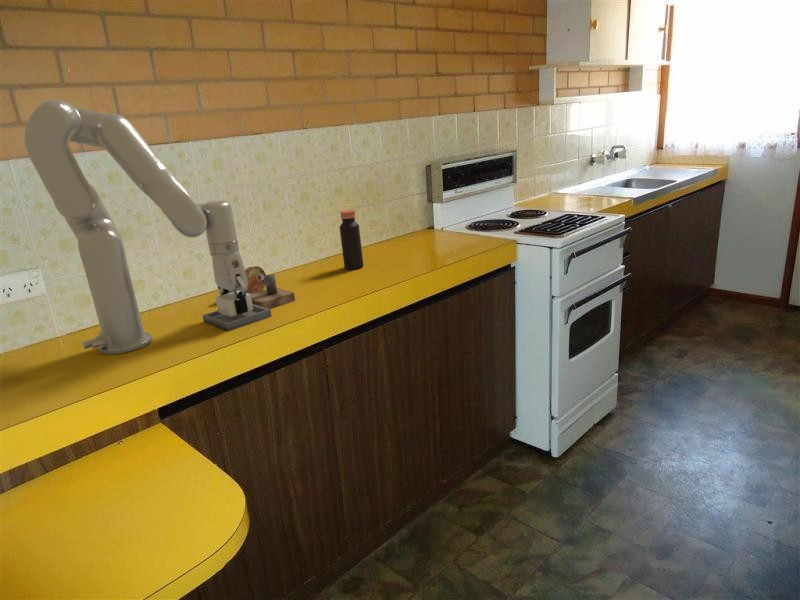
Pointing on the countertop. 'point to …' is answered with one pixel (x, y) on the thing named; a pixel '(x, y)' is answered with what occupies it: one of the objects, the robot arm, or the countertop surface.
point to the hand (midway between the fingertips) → (235, 310)
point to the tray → (236, 318)
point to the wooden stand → (272, 295)
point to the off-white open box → (231, 304)
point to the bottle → (350, 241)
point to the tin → (254, 279)
